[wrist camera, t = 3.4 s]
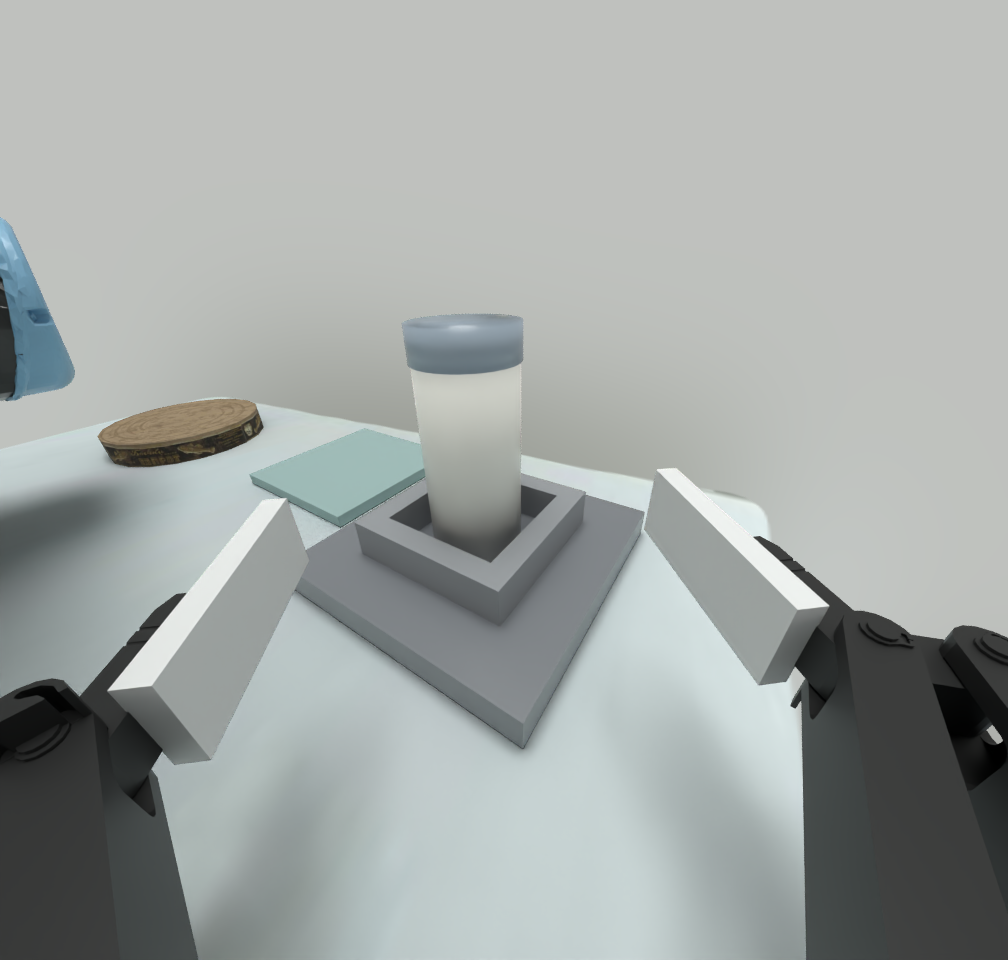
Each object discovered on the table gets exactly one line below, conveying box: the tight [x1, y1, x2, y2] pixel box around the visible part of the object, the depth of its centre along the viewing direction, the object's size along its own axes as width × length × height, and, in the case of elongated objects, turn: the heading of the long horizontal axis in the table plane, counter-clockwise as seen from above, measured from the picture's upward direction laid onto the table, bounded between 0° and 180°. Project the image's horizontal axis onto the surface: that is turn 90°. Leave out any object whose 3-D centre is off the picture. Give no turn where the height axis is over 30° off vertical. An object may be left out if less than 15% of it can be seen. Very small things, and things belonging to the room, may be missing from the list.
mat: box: [250, 429, 425, 527], centre depth 39 cm, size 14×14×1 cm
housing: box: [295, 473, 645, 749], centre depth 26 cm, size 18×18×4 cm
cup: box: [402, 314, 523, 563], centre depth 23 cm, size 6×6×14 cm
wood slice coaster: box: [97, 399, 263, 467], centre depth 48 cm, size 16×16×3 cm
